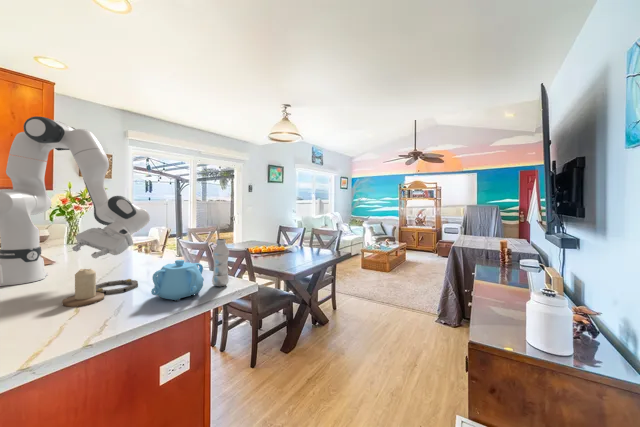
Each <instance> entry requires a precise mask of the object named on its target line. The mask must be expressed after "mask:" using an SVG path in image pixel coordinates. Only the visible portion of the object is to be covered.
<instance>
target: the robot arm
mask: <svg viewBox="0 0 640 427" xmlns="http://www.w3.org/2000/svg"><path fill="white" fill-rule="evenodd" d="M52 150H56V151H70V152H71V154H72V156H73V159H74V160H75V162H76V165H77V167H78V169H79V171H80V174H81V177H82V179H83V182H84V185H85V187H86V190H87V192H88V193H87V194H88V195H89V197H90V200H91V203H92V206H93V218H94V219H95V221H97V222H98V223H99V224H100V225H104V227H103V228H100V227H91V228H88V229H86V230H83V231H82V232H80V233H77V235H76V236H75V238H76V241H77V243H76V244H75V245H74V246H72V248H71V250H72V251H73V252H76V253H78V252H79V251H80V250H81V248H82V247H84V246H87V247H90V248H93V249H96V250H99V251H95V252H93V253H91V255H90V256H91V258H93V259H98V258H99V257H102V256H106V255H107V254H110V255H112V256H118V255H120V254H122V253H124V252H125V251H126V250H127V249H129V247H132V246H133V245H134V240H133V238H132V235H133V234H135V233H137V232H139V231H140V230H142V229H143V228H144V227H146V226H147V225H148V224H149V222H150V219H151V217H150V214H149V212H148V210H147V209H145V208H143V207H139V206H137V205H135V204H134V203H133V202H131V201H130V199H128V198H127V197H125V196H122V195H113V196H111V197H110V198H109V195H108V192H107V191H106V187H105V177H106V174H107V172H108V170H109V168H110V161H109V159H108V155H107V153H106V151H105V149H104V148H103V146H102V144H101V143H100V141H99V140H98V138H97V137H96V136H95V134H94V133H93V132H91V130H88V129H84V128H75V127H73V126H70V125H68V124H66V123H63V122H61V121H58V120H57V121H56V120H54V119H51V118H48V117H45V116H36V115H35V116H31V117H29V118H27V119H26V120H25V122H24V123H23V131H21V132H18V133H16V135H15V137H14V139H13V141H12V143H11V146H10V149H9V152H8V158H7V164H6V170H5V173H6V176H7V177H8V178H9V179H10V181H11V184H12V189H9V188H8V189H6V188H3V189H0V287H4V286H14V285H21V284H22V285H23V284H29V283H34V282H38V281H41V280H43V279H46V277H47V276H48V275H49V274H48V272H46V269H45V262H44V258H43V257H42V256H41V255H42V247H41V246H40V243H41V241H40V240H41V239H40V238H41V237H40V229H39V227H38V226H36V225H35V224H34V222H33V220H32V216H35V215H36V216H37V215H39V214H43V213H44V212H47V211H49V209H51V207H52V200H51V198H50V196H49V195H48V193H47V190H46V183H45V175H46V169H47V164H48V159H49V154H50V152H51V151H52Z"/></svg>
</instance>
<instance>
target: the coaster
mask: <svg viewBox="0 0 640 427" xmlns="http://www.w3.org/2000/svg"><path fill="white" fill-rule="evenodd" d="M104 299H105V295H104V293H99V292H96V296H95V297H92V298H89V299H83V300H77V299H75V294H74V295H71V296H68V297H65V298H64V299H62V303H61V305H62V306H63V307H66V308H76V307H77V308H78V307H83V306H89V305H93V304H96V303H99V302H102V301H103V300H104Z"/></svg>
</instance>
